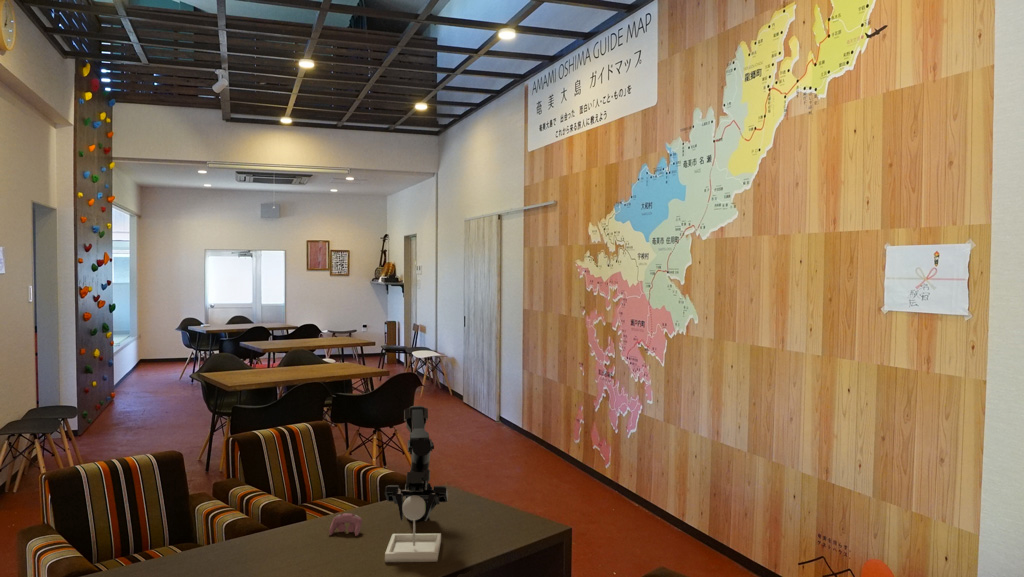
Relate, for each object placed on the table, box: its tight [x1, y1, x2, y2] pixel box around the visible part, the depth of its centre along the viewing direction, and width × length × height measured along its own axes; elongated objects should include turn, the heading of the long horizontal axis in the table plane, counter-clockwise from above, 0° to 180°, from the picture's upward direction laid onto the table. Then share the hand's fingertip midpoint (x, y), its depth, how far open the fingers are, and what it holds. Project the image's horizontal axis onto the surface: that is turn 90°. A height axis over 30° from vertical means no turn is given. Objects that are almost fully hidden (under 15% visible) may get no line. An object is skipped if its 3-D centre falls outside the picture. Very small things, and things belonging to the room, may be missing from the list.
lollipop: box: [402, 495, 426, 546], centre depth 200 cm, size 7×7×15 cm
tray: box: [384, 532, 442, 563], centre depth 200 cm, size 15×15×2 cm
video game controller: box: [328, 512, 363, 537], centre depth 215 cm, size 10×5×7 cm, turn 85°
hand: (413, 520), depth 199 cm, fingers closed on lollipop, 7 cm apart
